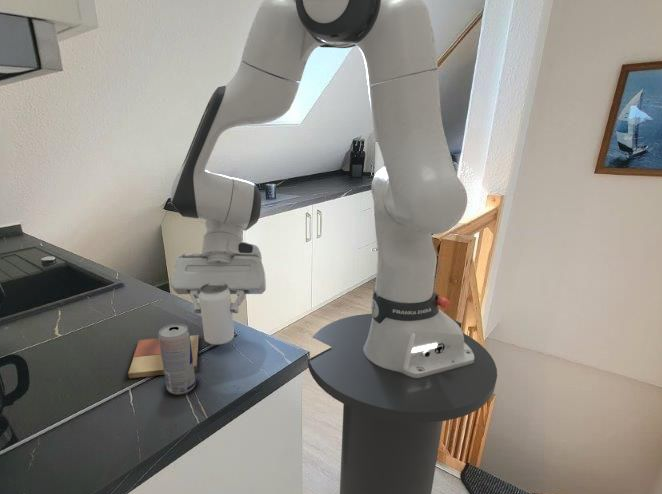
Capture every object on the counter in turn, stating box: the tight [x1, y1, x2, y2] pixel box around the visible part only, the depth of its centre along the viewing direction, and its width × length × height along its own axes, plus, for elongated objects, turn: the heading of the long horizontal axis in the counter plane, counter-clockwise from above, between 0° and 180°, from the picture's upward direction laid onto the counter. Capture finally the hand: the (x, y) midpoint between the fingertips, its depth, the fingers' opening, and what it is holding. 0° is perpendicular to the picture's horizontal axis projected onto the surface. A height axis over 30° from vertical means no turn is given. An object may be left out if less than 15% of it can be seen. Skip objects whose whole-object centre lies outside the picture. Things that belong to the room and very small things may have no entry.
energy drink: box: [157, 323, 197, 396], centre depth 74 cm, size 5×5×12 cm
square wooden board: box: [127, 334, 200, 379], centre depth 85 cm, size 13×13×1 cm
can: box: [198, 283, 235, 346], centre depth 85 cm, size 6×6×12 cm
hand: (216, 312), depth 85 cm, fingers closed on can, 6 cm apart
